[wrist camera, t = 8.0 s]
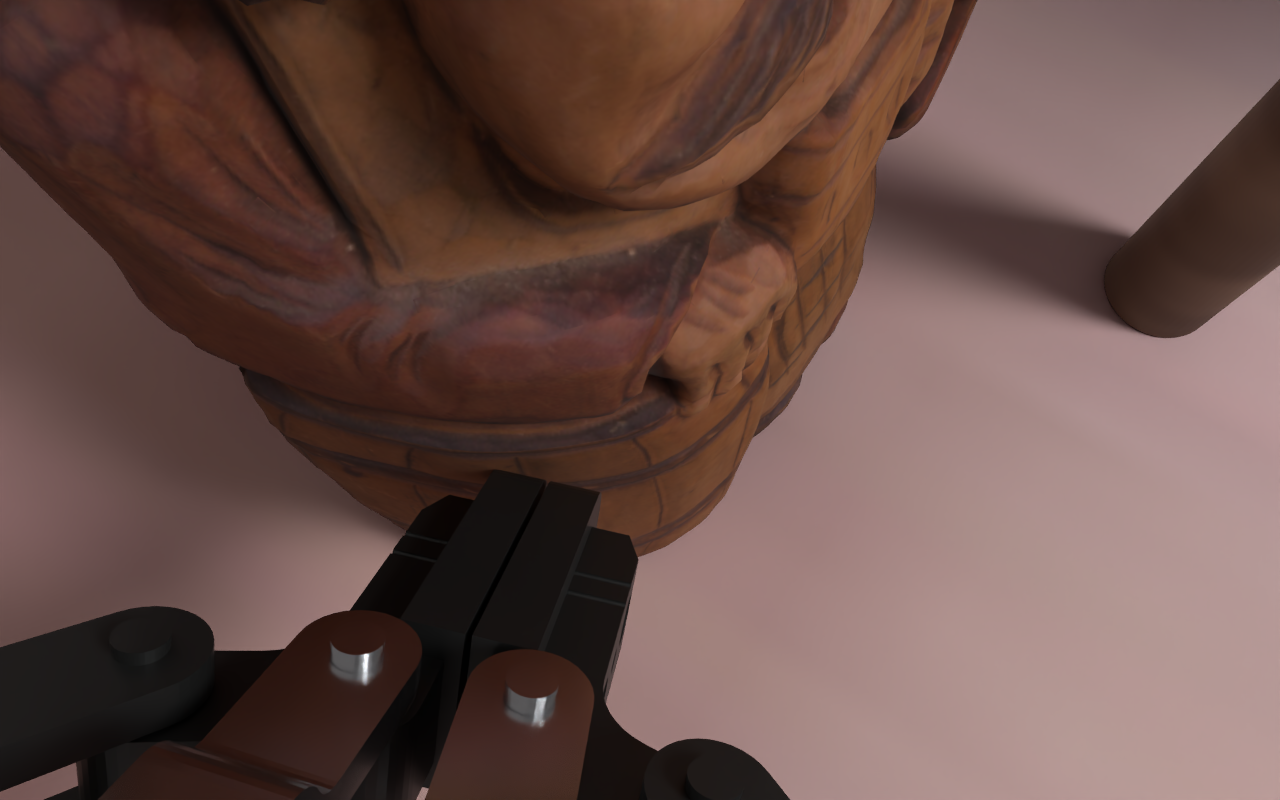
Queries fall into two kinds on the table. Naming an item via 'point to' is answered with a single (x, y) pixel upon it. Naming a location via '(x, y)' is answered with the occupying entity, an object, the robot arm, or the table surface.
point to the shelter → (1206, 234)
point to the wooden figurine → (485, 216)
